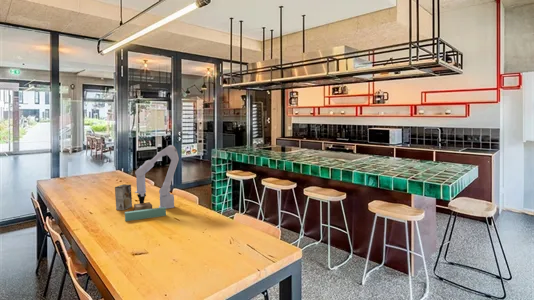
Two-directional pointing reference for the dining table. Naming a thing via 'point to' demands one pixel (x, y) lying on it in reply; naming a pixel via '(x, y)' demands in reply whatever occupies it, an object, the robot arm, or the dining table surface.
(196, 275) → the dining table surface
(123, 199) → the coffee box
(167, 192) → the robot arm
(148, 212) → the teal board
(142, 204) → the walnut block
